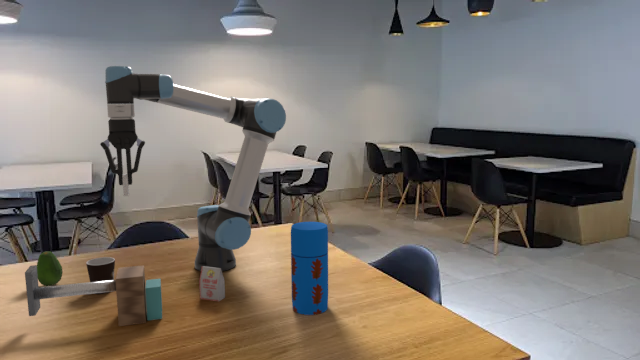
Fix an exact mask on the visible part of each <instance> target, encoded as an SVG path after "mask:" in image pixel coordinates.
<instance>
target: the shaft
mask: <svg viewBox="0 0 640 360" xmlns="http://www.w3.org/2000/svg"><path fill="white" fill-rule="evenodd" d="M24 277H25V279H24V280H25V289H26V298H27V299H26V301H27V309H28V310H27V311H28V317H35V316H37V313H38V312H39V311H40V308H41V300H44V299H46V300H47V299H54V298H55V299H56V298H63V297H74V296H83V295H92V294H94V293H104V292H109V293H111V292H116V279H114V280H107V281H97V282H90V281H88V282H87V281H86V282H80V283H79V282H78V283H68V284H60V285H59V284H58V285H52V286H39V281H38V275H37V264H36V265H35V264H34V265H30V266H29V267H28V268H27V270H26V271H25V272H24ZM94 295H95V294H94Z"/></svg>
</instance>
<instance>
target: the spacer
mask: <svg viewBox="0 0 640 360" xmlns="http://www.w3.org/2000/svg"><path fill="white" fill-rule="evenodd" d="M161 280H162V279H161V278H152V279H145V289H146V305H147V312H146V322H147V321H154V320H162V319H163V298H162V297H163V296H162V281H161Z"/></svg>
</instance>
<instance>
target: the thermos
mask: <svg viewBox="0 0 640 360" xmlns="http://www.w3.org/2000/svg"><path fill="white" fill-rule="evenodd" d="M328 228H329V227H328V224H326V223H324V222H320V221H302V222H301V221H300V222H296V223H293V224H292V225H291V228H290V259H291V260H290V263H291V264H290V265H291V266H290V269H291V270H290V271H291V272H290V274H291V276H290V279H291V302H292V303H291V304H292V310H293V311H294V312H295V313H296V314H298V315H299V314H300V315H303V314H304V316H305V315H306V316H313V315H315V314H316V315H318V314H323V313H325V312H326V311H327V310H328V306H329V303H328V302H329V229H328ZM316 315H315V316H316Z"/></svg>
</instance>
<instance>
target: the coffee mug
mask: <svg viewBox="0 0 640 360" xmlns="http://www.w3.org/2000/svg"><path fill="white" fill-rule="evenodd" d="M115 262H116V259H115V258H114V257H111V256H103V257H96V258H92V259H89V260H87V261H86V263H85V264H86V269H87V272H88V273H87V274H88V279H89V282H97V281H107V280H115V266H116V263H115ZM109 293H110V292H104V293H94V295H105V294H109Z"/></svg>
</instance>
